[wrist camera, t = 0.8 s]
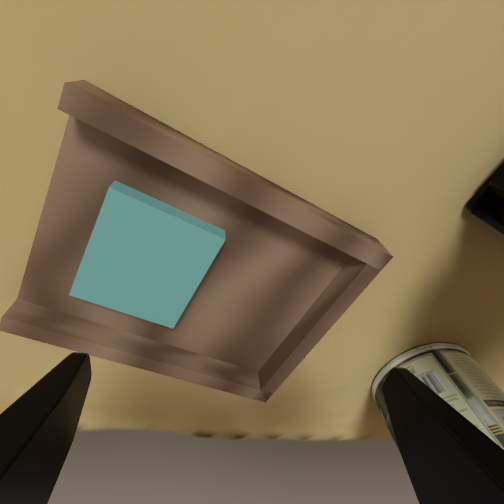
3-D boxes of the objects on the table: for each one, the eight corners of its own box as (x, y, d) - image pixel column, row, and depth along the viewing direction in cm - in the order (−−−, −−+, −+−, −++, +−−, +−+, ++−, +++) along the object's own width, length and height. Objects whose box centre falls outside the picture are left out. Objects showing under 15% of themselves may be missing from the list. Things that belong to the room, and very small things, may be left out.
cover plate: (225, 230, 20) (225, 239, 19) (174, 317, 24) (173, 328, 22) (115, 180, 18) (108, 187, 17) (75, 283, 21) (68, 295, 20)
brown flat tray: (376, 239, 23) (393, 256, 20) (261, 377, 29) (265, 401, 27) (83, 80, 16) (64, 82, 14) (18, 305, 22) (-2, 330, 20)
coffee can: (427, 417, 35) (539, 601, 23) (351, 401, 32) (433, 603, 20) (495, 354, 31) (677, 542, 19) (414, 330, 28) (567, 534, 16)
